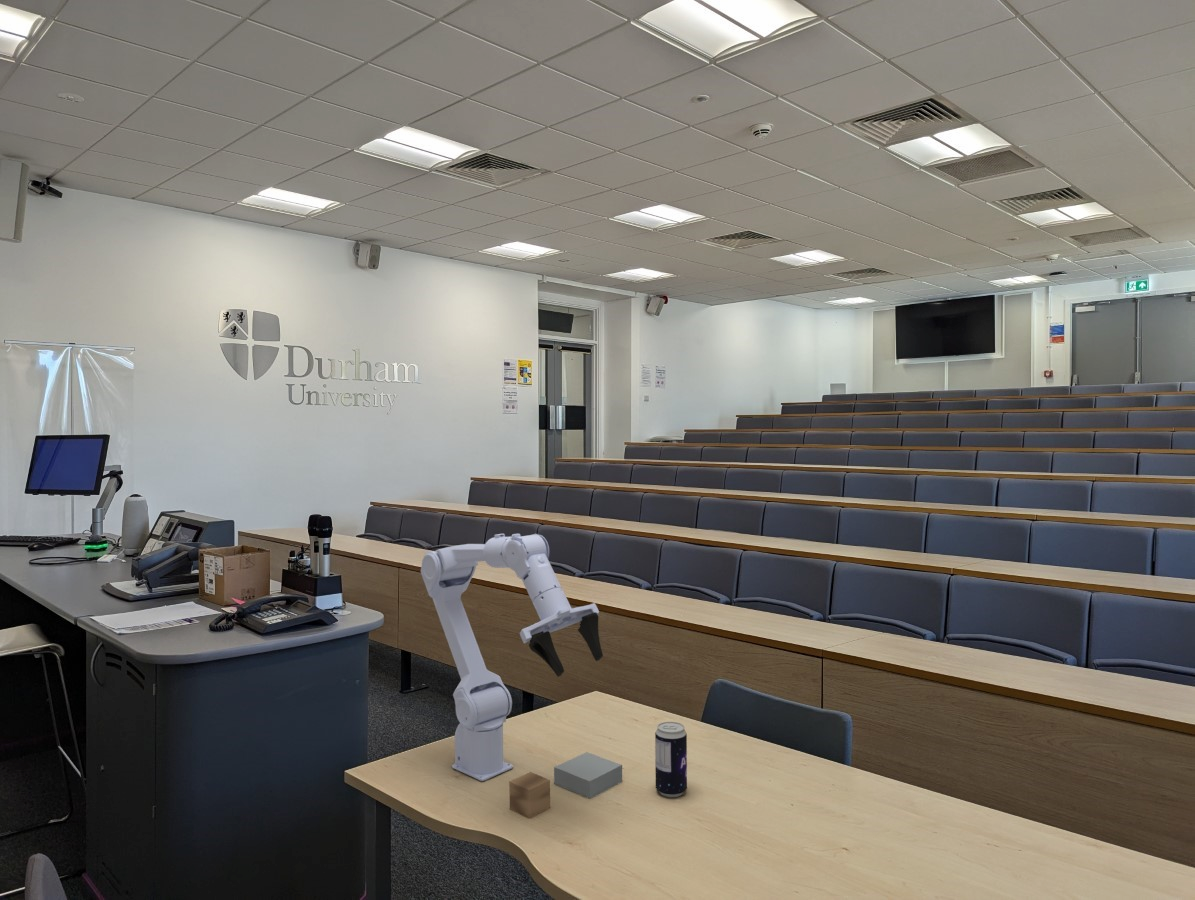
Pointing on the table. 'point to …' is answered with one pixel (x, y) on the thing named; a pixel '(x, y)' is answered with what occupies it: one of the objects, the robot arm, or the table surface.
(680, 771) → the beverage can
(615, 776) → the grey block
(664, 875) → the table surface
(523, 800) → the walnut cube
